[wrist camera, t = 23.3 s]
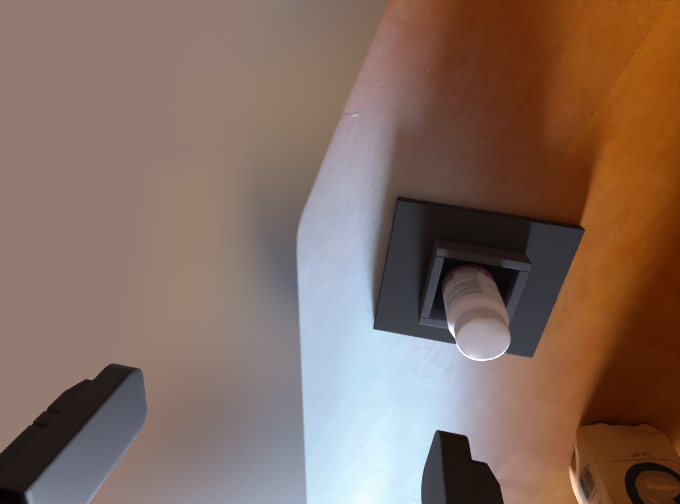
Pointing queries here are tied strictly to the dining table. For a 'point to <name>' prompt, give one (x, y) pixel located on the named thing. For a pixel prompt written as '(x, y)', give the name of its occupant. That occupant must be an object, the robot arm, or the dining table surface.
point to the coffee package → (624, 466)
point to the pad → (477, 249)
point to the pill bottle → (476, 312)
